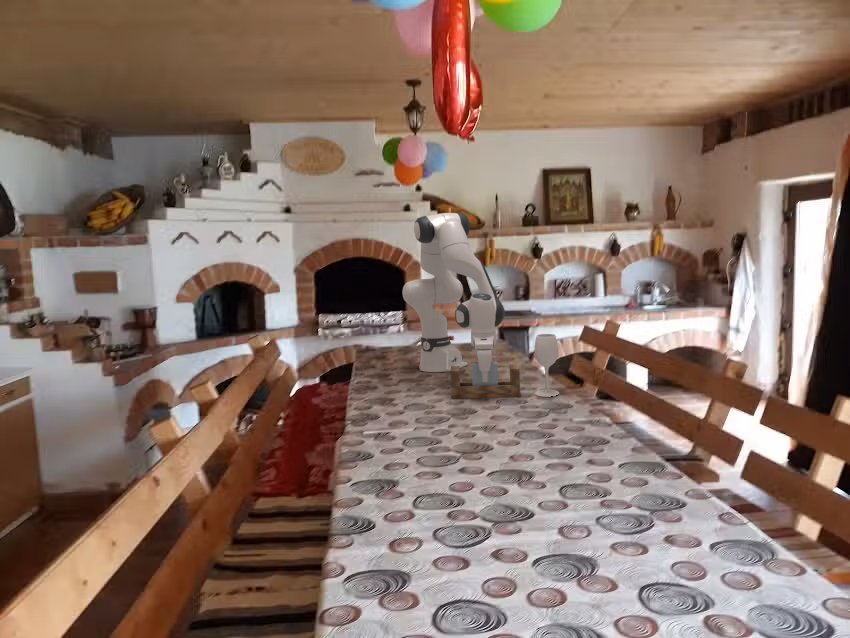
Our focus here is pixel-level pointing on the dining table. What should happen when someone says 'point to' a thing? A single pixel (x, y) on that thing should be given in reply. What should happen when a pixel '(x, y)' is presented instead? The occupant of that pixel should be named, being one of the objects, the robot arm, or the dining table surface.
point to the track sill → (494, 391)
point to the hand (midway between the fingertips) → (485, 378)
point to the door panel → (477, 375)
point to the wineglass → (546, 358)
